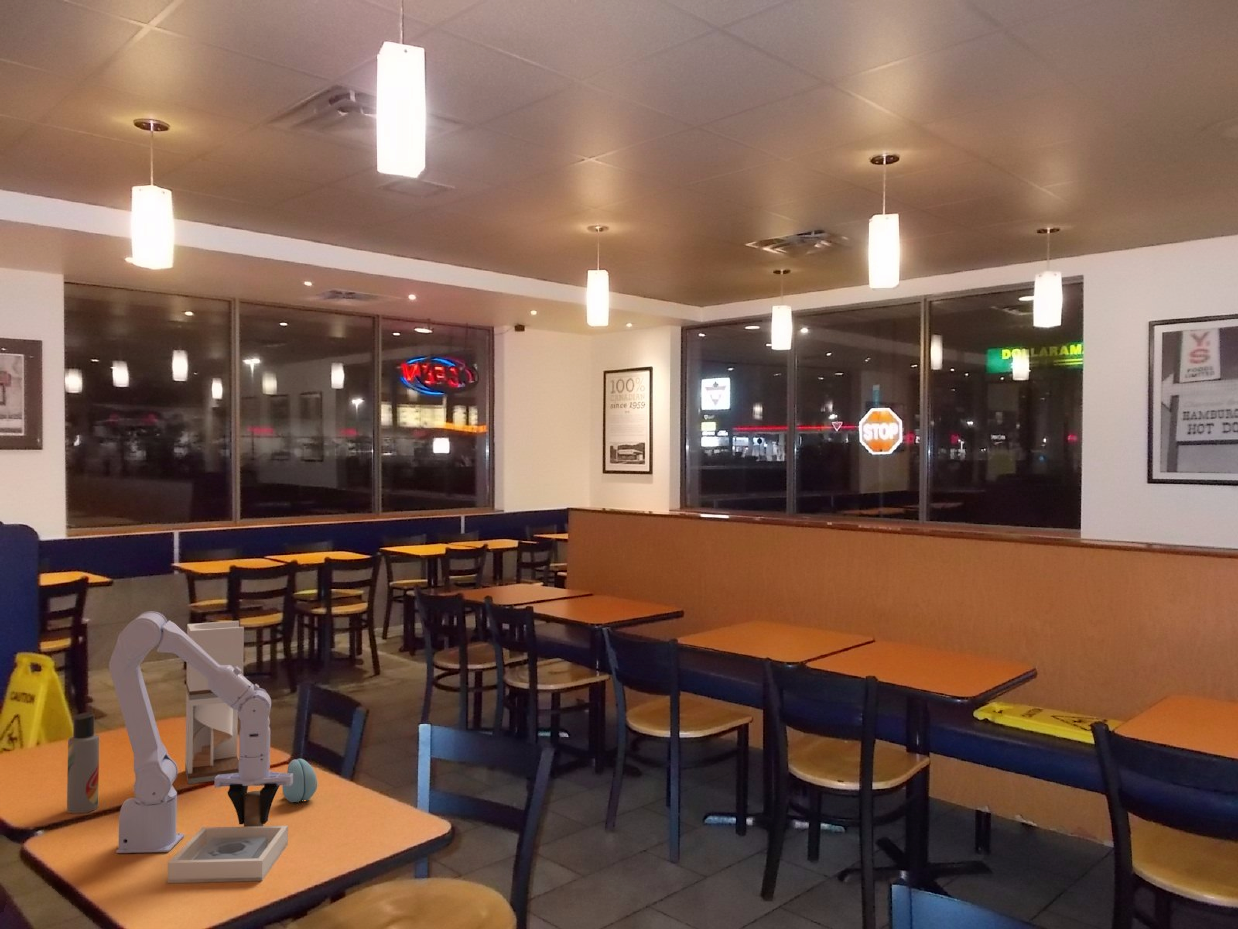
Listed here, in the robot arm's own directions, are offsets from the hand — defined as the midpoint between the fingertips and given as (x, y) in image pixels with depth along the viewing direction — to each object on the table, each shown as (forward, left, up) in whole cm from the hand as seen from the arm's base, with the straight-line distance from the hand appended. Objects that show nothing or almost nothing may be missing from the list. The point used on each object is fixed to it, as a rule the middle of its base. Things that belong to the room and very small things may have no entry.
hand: (253, 822), depth 180 cm
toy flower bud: (+3, +20, -3) cm, 21 cm away
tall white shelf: (-21, +38, -3) cm, 43 cm away
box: (0, -13, -2) cm, 13 cm away
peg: (0, 0, -2) cm, 2 cm away
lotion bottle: (-40, +16, -3) cm, 43 cm away
